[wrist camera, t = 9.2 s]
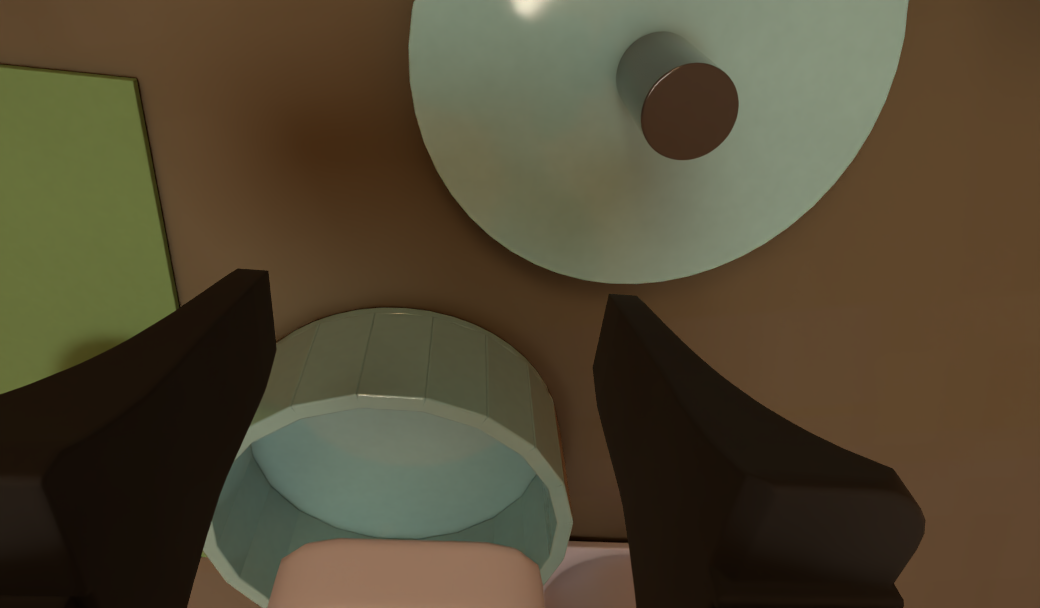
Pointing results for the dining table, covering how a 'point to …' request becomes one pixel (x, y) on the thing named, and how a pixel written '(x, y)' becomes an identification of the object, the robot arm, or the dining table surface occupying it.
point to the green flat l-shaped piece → (75, 222)
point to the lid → (646, 121)
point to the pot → (393, 447)
